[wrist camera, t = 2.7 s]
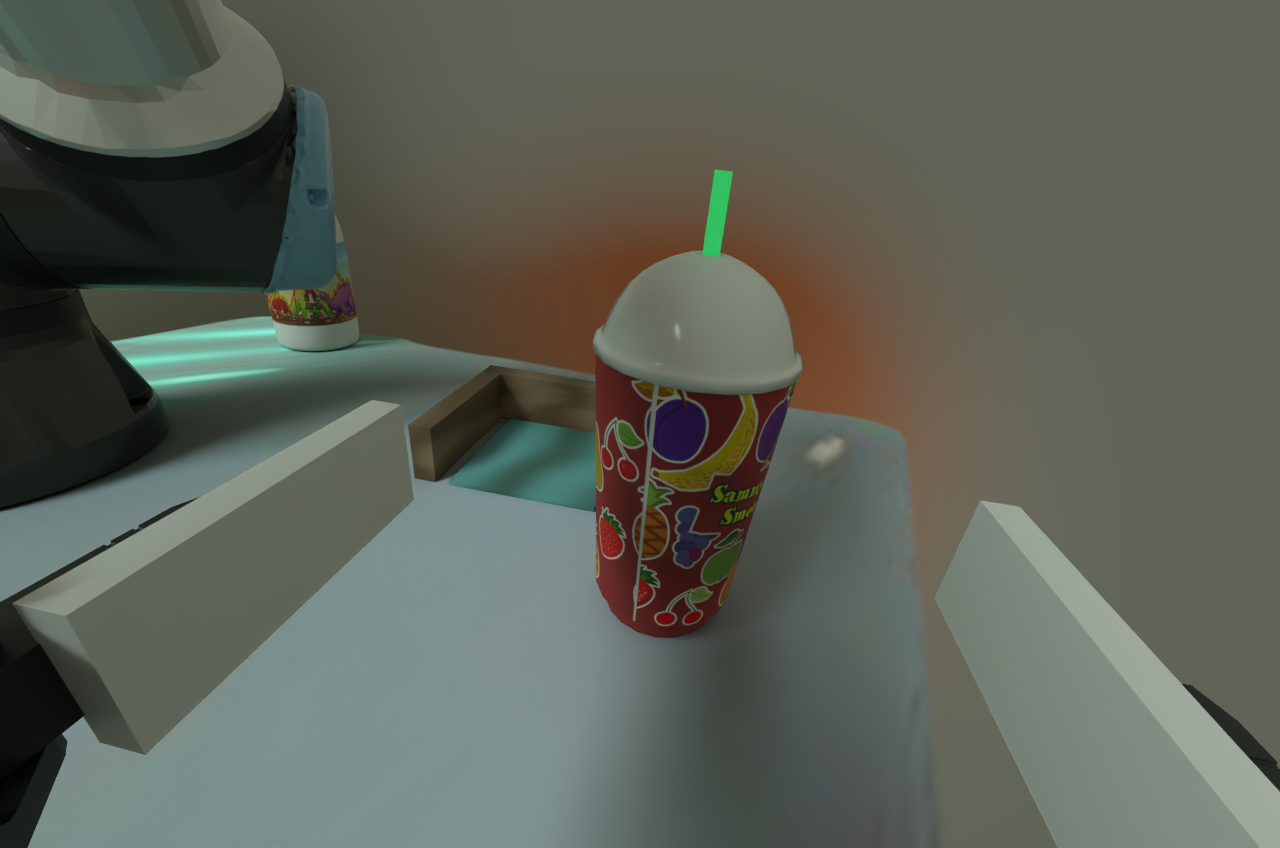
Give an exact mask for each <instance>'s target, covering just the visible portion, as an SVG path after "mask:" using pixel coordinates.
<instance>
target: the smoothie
mask: <svg viewBox="0 0 1280 848" xmlns="http://www.w3.org/2000/svg"><path fill="white" fill-rule="evenodd" d="M732 174H733V172H731V171H722V170H715V173H714V180H713V187H712V194H711V200H710V207H709V213H708V220H707V227H706V234H705V240H704V248H703V251H693V252H687V253H682V254H679V255H675V256H672V257H669V258H667V259H665V260H662V261H660V262H658V263H656V264H654V265H652V266H651V267H649V268H647V269H646V270H644V271H643V272H641V273H640V274H639V275H638V276H637V277H636V278H635V279H633V280H632V281H631V282H630V283H629V284H628V286H627V287H626V288H625V289H624V291H623V292H622V293H621V294H620V296H619V297H618V299H617V300H616V303H615V305H614V306H613V308H612V310H611V312H610V314H609V316H608V318H607V320H606V322H605V325H604V326H602V327H601V328H599V329H598V330H597V331H596V332H595V335H594V340H593V347H594V351H595V353H596V581H597V583H598V586H599V588H600V591H601V593H602V596H603V597H604V598H605V599H606V600H607V602H608V604H609V607H610V609H611V611H612V612H613V613H614V614H615V615H616V617H617V618H618V619H619V620H620V621H621V622H622V623H624V624H625V625H627V626H629V627H630V628H632V629H634V630H635V631H637V632H640V633H644V634H647V635H651V636H654V637H677V636H680V635H684V634H688V633H691V632H692V631H694V630H695V629H697V628H698V627H700V626H701V625H703V624H704V622H705V621H706V620H707V619H708V618H710V617H711V616H713V615H714V614H716V613H717V612H718V610H719V609H720V607H721V606H722V604H723V603H724V601H725V600H726V596H727V593H728V590H729V587H730V584H731V581H732V578H733V575H734V572H735V569H736V566H737V563H738V560H739V556H740V553H741V550H742V547H743V544H744V541H745V538H746V535H747V532H748V529H749V526H750V523H751V520H752V517H753V514H754V511H755V507H756V504H757V501H758V498H759V495H760V492H761V489H762V486H763V483H764V480H765V477H766V474H767V471H768V468H769V465H770V462H771V458H772V455H773V452H774V449H775V446H776V443H777V440H778V437H779V434H780V431H781V428H782V425H783V422H784V419H785V416H786V413H787V409H788V406H789V403H790V400H791V397H792V394H793V390H794V386H795V383H796V380H797V379H798V378H799V376H800V374H801V372H802V358H801V357H800V355H798V353H797V352H796V351H795V347H794V339H793V333H792V328H791V323H790V319H789V316H788V314H787V312H786V309H785V307H784V304H783V302H782V301H781V299H780V297H779V296H778V294H777V293H776V291H775V289H774V288H773V287H772V286H771V285H770V284H769V283H768V282H767V281H766V279H765V278H764V277H762V276H761V275H760V274H759V273H757V272H756V271H755V270H753V269H752V268H751V267H749V266H748V265H746V264H744V263H743V262H741V261H739V260H737V259H735V258H733V257H731V256H729V255H726V254H722V253H720V249H721V243H722V237H723V230H724V224H725V218H726V211H727V205H728V199H729V193H730V186H731V179H732Z"/></svg>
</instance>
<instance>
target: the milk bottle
mask: <svg viewBox="0 0 1280 848" xmlns="http://www.w3.org/2000/svg"><path fill="white" fill-rule="evenodd" d="M335 228H336V271H335V274H334V277H333V278H332V280H331V281H330V282H329V283H328V284H327V285H325V286H323V287H321V288H318V289H310V290H286V291H276V292H274V293H272V294H266V295H267V299H268V303H269V307H270V312H271V316H272V320H273V324H274V328H275V332H276V336H277V339H278V341H279V343H280V344H281V345H282V346H283V347H285V348H288V349H293V350H300V351H324V350H333V349H339V348H343V347H346V346H349V345H352V344H354V343H355V342H357V340H358V338H359V328H358V321H357V315H356V309H355V302H354V296H353V290H352V284H351V278H350V272H349V266H348V260H347V255H346V249H345V245H344V240H343V235H342V232H341V228H340V225H339V222H338V220H337V218H336V216H335Z"/></svg>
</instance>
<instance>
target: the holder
mask: <svg viewBox="0 0 1280 848" xmlns="http://www.w3.org/2000/svg"><path fill="white" fill-rule="evenodd" d="M501 417H503V418H509V420H508V421H507V422H506V423H505V424H504V425H503V426H502V427H501V428H500V429H499V430H498V431H497V432H496V433H495V434H494V435H493V436H492V437H491V439H490V440H489V441H488V442H487V443H486V444H485V445H484V446H483V447H482V448H481V449H480V450H479V451H478V452H477V453H476V454H475V455H474V456H473V457H472V458H471V459H470V460H469V461H468V462H467V463H466V464H465V465H464V466H463V467H462V468H461V469H460V470H459V471H458V472H457V473H456V474H455V475H454V476H453V477H452V478H451V479H450V480H449V484H450V485H456V486H461V487H466V488H472V489H477V490H482V491H488V492H493V493H498V494H504V495H509V496H514V497H520V498H525V499H530V500H536V501H541V502H546V503H552V504H557V505H562V506H567V507H573V508H578V509H583V510H589V511H595V508H596V382H593V381H587V380H581V379H574V378H568V377H562V376H555V375H549V374H543V373H536V372H530V371H523V370H517V369H511V368H504V367H498V366H492V365H491V366H490V367H488V368H487V369H485V370H484V371H483V372H481V373H480V374H478V375H477V376H476V377H474V378H473V379H472V380H470V381H469V382H467V383H466V384H465V385H463V386H462V387H460V388H459V389H458V390H456V391H455V392H454V393H452V394H451V395H449V396H448V397H447V398H445V399H444V400H442V401H441V402H440V403H438V404H437V405H435V406H434V407H433V408H431V409H430V410H429V411H427V412H426V413H424V414H423V415H422V416H420V417H419V418H417V419H416V420H415V421H413V422H412V423H410V424H409V425H408V428H409V436H410V444H411V451H412V459H413V467H414V475H415V478H419V479H424V480H429V481H435V482H436V481H437V480H438V479H439V478H440V477H441V476H442V475H443V474H444V473H445V472H446V471H447V470H448V469H449V468H450V467H451V466H452V465H453V464H454V463H455V462H456V461H457V460H458V459H459V458H460V457H461V456H462V455H463V454H465V453H466V452H467V451H468V450H469V449H470V448H471V447H472V446H473V445H474V444H475V443H476V442H477V441H478V440H479V439H480V438H481V437H482V436H483V435H484V434H485V433H486V432H487V431H488V430H489V429H490V428H491V427H492V426H493V425H494V424H495V423H496V422H497V421H498V420H499V419H500V418H501Z"/></svg>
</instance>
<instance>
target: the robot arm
mask: <svg viewBox="0 0 1280 848" xmlns="http://www.w3.org/2000/svg"><path fill="white" fill-rule="evenodd" d="M335 271H336V228H335V206H334V189H333V174H332V160H331V146H330V133H329V123H328V116H327V110H326V105H325V103H324V101H323V100H322V98H321V97H320V96H319V95H317V94H316V93H313V92H310V91H306V90H305V89H303V88H302V87H301V86H292V85H291V86H290V88H287V86H286V84H285V80H284V77H283V74H282V70H281V67H280V65H279V62H278V60H277V58H276V56H275V53H274V51H273V49H272V48H271V47H270V45H269V44H268V42H267V41H266V40H265V39H264V37H263V36H261V34H260V33H259V32H258V31H257V30H256V29H255V28H253V27H252V26H251V25H250V24H249V23H247V22H246V21H245V20H244V19H242V18H241V17H239V16H238V15H237V14H235V13H234V12H232V11H230V10H229V9H227V8H226V7H224V6H223V5H222V3H221V0H0V507H4V506H9V505H13V504H17V503H20V502H24V501H28V500H31V499H35V498H38V497H42V496H45V495H48V494H52V493H55V492H58V491H61V490H64V489H67V488H70V487H73V486H76V485H78V484H81V483H84V482H87V481H89V480H92V479H94V478H97V477H99V476H101V475H104V474H106V473H108V472H111V471H113V470H115V469H117V468H119V467H121V466H123V465H125V464H127V463H129V462H131V461H133V460H134V459H136V458H138V457H139V456H141V455H143V454H144V453H146V452H147V451H149V450H150V449H151V448H153V447H154V446H155V445H156V444H157V443H158V442H160V440H161V439H162V438H163V437H164V436H165V434H166V432H167V430H168V425H169V424H168V420H167V417H166V414H165V412H164V409H163V406H162V404H161V401H160V399H159V397H158V395H157V393H156V392H155V390H154V389H153V388H152V387H151V386H150V385H149V384H148V383H147V382H146V380H145V379H144V378H143V377H142V376H141V375H140V374H139V373H138V372H137V371H136V369H135V368H134V367H133V366H132V365H131V364H130V363H129V362H128V361H127V360H126V358H125V357H124V356H123V355H122V354H121V353H120V352H119V351H118V350H117V349H116V348H115V346H114V345H113V344H112V343H111V342H110V341H109V340H108V339H107V338H106V337H105V335H104V334H103V333H102V332H101V331H100V330H99V329H98V328H97V326H96V325H95V324H94V322H93V321H92V319H91V317H90V315H89V313H88V311H87V308H86V306H85V303H84V301H83V298H82V296H81V293H80V291H79V289H129V290H174V291H218V292H221V291H222V292H260V293H261V292H262V293H263V294H272V293H274V292H276V291H286V290H310V289H318V288H321V287H323V286H325V285H327V284H328V283H329V282H330V281H331V280H332V278H333V277H334V274H335ZM413 500H414V499H413V491H412V483H411V476H410V468H409V461H408V453H407V445H406V438H405V430H404V422H403V415H402V407H401V405H400V404H394V403H387V402H381V401H375V400H371V401H369V402H367V403H366V404H364V405H362V406H360V407H359V408H357V409H355V410H353V411H351V412H350V413H348V414H346V415H344V416H343V417H341V418H339V419H337V420H336V421H334V422H332V423H330V424H329V425H327V426H325V427H323V428H321V429H320V430H318V431H316V432H314V433H313V434H311V435H309V436H307V437H306V438H304V439H302V440H300V441H298V442H297V443H295V444H293V445H291V446H290V447H288V448H286V449H284V450H283V451H281V452H279V453H277V454H275V455H274V456H272V457H270V458H268V459H267V460H265V461H263V462H261V463H260V464H258V465H256V466H254V467H252V468H251V469H249V470H247V471H245V472H244V473H242V474H240V475H238V476H237V477H235V478H233V479H231V480H230V481H228V482H226V483H224V484H222V485H221V486H219V487H217V488H215V489H214V490H212V491H210V492H208V493H207V494H205V495H203V496H201V497H198V498H196V499H193V500H190V501H187V502H185V503H182V504H179V505H176V506H174V507H171V508H169V509H167V510H166V511H164V512H162V513H160V514H158V515H157V516H155V517H153V518H151V519H149V520H148V521H146V522H144V523H142V524H140V525H139V527H138V529H137V530H134V529H131V530H130V531H128V532H126V533H124V534H122V535H121V536H119V537H117V538H115V539H113V540H112V541H111V543H110V545H108V546H106V545H103V546H101V547H99V548H97V549H95V550H94V551H92V552H90V553H88V554H86V555H85V556H83V557H81V558H79V559H77V560H76V561H74V562H72V563H70V564H68V565H67V566H65V567H63V568H61V569H59V570H58V571H56V572H54V573H52V574H50V575H49V576H47V577H45V578H43V579H41V580H40V581H38V582H36V583H34V584H32V585H30V586H29V587H27V588H25V589H23V590H21V591H20V592H18V593H16V594H14V595H12V596H11V597H9V598H7V599H5V600H3V601H2V602H0V848H28V845H29V843H30V840H31V838H32V835H33V833H34V830H35V828H36V826H37V823H38V821H39V818H40V816H41V813H42V811H43V809H44V806H45V804H46V801H47V799H48V796H49V794H50V792H51V789H52V787H53V784H54V782H55V779H56V777H57V774H58V772H59V770H60V767H61V765H62V762H63V760H64V757H65V755H66V746H67V740H66V739H65V738H64V736H63V735H62V733H63V732H64V731H65V730H67V729H68V728H69V727H70V726H72V725H73V724H74V723H75V722H77V721H78V720H79V719H80V718H82V717H83V716H84V718H85V720H86V721H87V723H88V724H89V726H90V727H91V729H92V731H93V732H94V734H95V735H96V737H97V739H98V740H99V742H100V743H104V744H108V745H111V746H115V747H119V748H122V749H126V750H130V751H133V752H137V753H141V754H144V755H145V754H146V753H148V752H149V751H150V750H151V749H152V748H153V747H154V746H155V745H156V744H157V743H158V742H159V741H160V740H161V739H162V738H163V737H164V736H165V735H166V734H168V733H169V732H170V731H171V730H172V729H173V728H174V727H175V726H176V725H177V724H178V723H179V722H180V721H181V720H182V719H183V718H184V717H185V716H187V715H188V714H189V713H190V712H191V711H192V710H193V709H194V708H195V707H196V706H197V705H198V704H199V703H200V702H201V701H202V700H203V699H204V698H205V697H207V696H208V695H209V694H210V693H211V692H212V691H213V690H214V689H215V688H216V687H217V686H218V685H219V684H220V683H221V682H222V681H223V680H224V679H225V678H227V677H228V676H229V675H230V674H231V673H232V672H233V671H234V670H235V669H236V668H237V667H238V666H239V665H240V664H241V663H242V662H243V661H244V660H245V659H247V658H248V657H249V656H250V655H251V654H252V653H253V652H254V651H255V650H256V649H257V648H258V647H259V646H260V645H261V644H262V643H263V642H264V641H265V640H267V639H268V638H269V637H270V636H271V635H272V634H273V633H274V632H275V631H276V630H277V629H278V628H279V627H280V626H281V625H282V624H283V623H284V622H285V621H287V620H288V619H289V618H290V617H291V616H292V615H293V614H294V613H295V612H296V611H297V610H298V609H299V608H300V607H301V606H302V605H303V604H304V603H305V602H307V601H308V600H309V599H310V598H311V597H312V596H313V595H314V594H315V593H316V592H317V591H318V590H319V589H320V588H321V587H322V586H323V585H324V584H325V583H327V582H328V581H329V580H330V579H331V578H332V577H333V576H334V575H335V574H336V573H337V572H338V571H339V570H340V569H341V568H342V567H343V566H344V565H345V564H347V563H348V562H349V561H350V560H351V559H352V558H353V557H354V556H355V555H356V554H357V553H358V552H359V551H360V550H361V549H362V548H363V547H364V546H365V545H367V544H368V543H369V542H370V541H371V540H372V539H373V538H374V537H375V536H376V535H377V534H378V533H379V532H380V531H381V530H382V529H383V528H384V527H385V526H387V525H388V524H389V523H390V522H391V521H392V520H393V519H394V518H395V517H396V516H397V515H398V514H399V513H400V512H401V511H402V510H403V509H404V508H405V507H407V506H408V505H409V504H410V503H411V502H412V501H413ZM934 599H935V601H936V603H937V605H938V606H939V609H940V611H941V613H942V615H943V617H944V619H945V621H946V623H947V625H948V627H949V629H950V631H951V633H952V635H953V637H954V639H955V641H956V643H957V645H958V647H959V649H960V651H961V653H962V655H963V657H964V659H965V661H966V663H967V666H968V668H969V669H970V672H971V674H972V675H973V678H974V680H975V682H976V684H977V686H978V688H979V690H980V692H981V694H982V696H983V698H984V700H985V702H986V704H987V706H988V708H989V710H990V712H991V714H992V716H993V718H994V720H995V722H996V724H997V726H998V728H999V730H1000V732H1001V734H1002V736H1003V738H1004V740H1005V742H1006V744H1007V746H1008V748H1009V750H1010V753H1011V755H1012V756H1013V758H1014V761H1015V762H1016V765H1017V767H1018V769H1019V771H1020V773H1021V775H1022V777H1023V779H1024V781H1025V783H1026V785H1027V787H1028V789H1029V791H1030V793H1031V795H1032V797H1033V799H1034V801H1035V803H1036V805H1037V807H1038V809H1039V811H1040V813H1041V815H1042V817H1043V819H1044V821H1045V823H1046V825H1047V827H1048V829H1049V831H1050V833H1051V836H1052V838H1053V840H1054V841H1055V844H1056V846H1057V848H1280V769H1278V767H1277V762H1276V761H1275V759H1274V758H1273V757H1272V756H1271V755H1270V754H1269V753H1268V752H1267V751H1266V750H1265V749H1264V748H1263V747H1262V746H1261V745H1260V744H1259V743H1258V742H1257V740H1256V739H1254V737H1253V736H1252V735H1251V734H1250V733H1249V732H1248V731H1247V730H1246V729H1245V728H1244V727H1243V726H1242V725H1241V724H1240V723H1239V722H1238V721H1237V720H1236V719H1234V718H1233V717H1232V716H1230V715H1229V714H1228V713H1226V712H1225V711H1224V710H1223V709H1221V708H1220V707H1219V706H1217V705H1216V704H1215V703H1214V702H1212V701H1211V700H1210V699H1208V698H1207V697H1206V696H1204V695H1203V694H1202V693H1200V692H1199V691H1198V690H1197V689H1195V688H1194V687H1193V686H1191V685H1186V684H1181V683H1180V682H1179V681H1178V680H1177V679H1176V678H1175V677H1174V675H1173V674H1172V673H1171V672H1170V671H1169V670H1168V669H1167V668H1166V667H1165V666H1164V664H1163V663H1161V661H1160V660H1159V659H1158V658H1157V657H1156V656H1155V655H1154V653H1153V652H1152V651H1151V650H1150V649H1149V648H1148V647H1147V646H1146V645H1145V644H1144V643H1143V641H1142V640H1141V639H1140V638H1139V637H1138V636H1137V635H1136V634H1135V633H1134V632H1133V630H1132V629H1131V628H1130V627H1129V626H1128V625H1127V624H1126V623H1125V622H1124V621H1123V620H1122V618H1121V617H1120V616H1119V615H1118V614H1117V613H1116V612H1115V611H1114V610H1113V609H1112V608H1111V606H1110V605H1109V604H1108V603H1107V602H1106V601H1105V600H1104V599H1103V598H1102V597H1101V595H1100V594H1099V593H1098V592H1097V591H1096V590H1095V589H1094V588H1093V587H1092V586H1091V584H1090V583H1089V582H1088V581H1087V580H1086V579H1085V578H1084V577H1083V576H1082V575H1081V573H1080V572H1079V571H1078V570H1077V569H1076V568H1075V567H1074V566H1073V565H1072V564H1071V563H1070V561H1069V560H1068V559H1067V558H1066V557H1065V556H1064V555H1063V554H1062V553H1061V552H1060V550H1059V549H1058V548H1057V547H1056V546H1055V545H1054V544H1053V543H1052V542H1051V541H1050V540H1049V538H1048V537H1047V536H1046V535H1045V534H1044V533H1043V532H1042V531H1041V530H1040V529H1039V527H1037V525H1036V524H1035V523H1034V522H1033V521H1032V520H1031V519H1030V518H1029V517H1028V515H1027V514H1026V513H1025V512H1024V511H1023V510H1022V509H1021V508H1020V507H1018V506H1012V505H1006V504H1000V503H993V502H987V501H981V500H980V502H979V505H978V507H977V509H976V511H975V513H974V515H973V517H972V519H971V521H970V524H969V526H968V528H967V530H966V532H965V534H964V536H963V538H962V541H961V543H960V545H959V547H958V549H957V551H956V553H955V555H954V557H953V559H952V561H951V563H950V566H949V568H948V570H947V572H946V574H945V576H944V578H943V580H942V582H941V585H940V587H939V589H938V591H937V593H936V595H935V597H934Z"/></svg>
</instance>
